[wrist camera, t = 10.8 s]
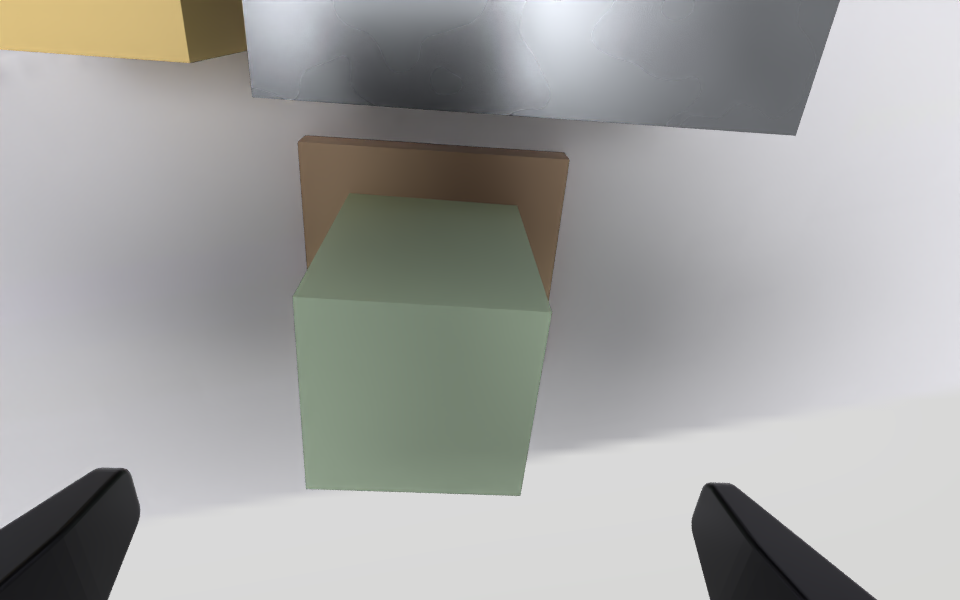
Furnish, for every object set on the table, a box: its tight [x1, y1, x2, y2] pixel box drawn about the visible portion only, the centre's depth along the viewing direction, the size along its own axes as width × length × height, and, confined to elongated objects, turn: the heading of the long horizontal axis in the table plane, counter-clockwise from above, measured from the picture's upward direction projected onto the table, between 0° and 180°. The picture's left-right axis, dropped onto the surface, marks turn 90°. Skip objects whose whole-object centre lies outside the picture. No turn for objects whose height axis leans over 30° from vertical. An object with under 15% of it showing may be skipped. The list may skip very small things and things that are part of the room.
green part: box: [293, 193, 552, 496], centre depth 13 cm, size 4×4×6 cm
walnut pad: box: [298, 135, 569, 301], centre depth 16 cm, size 7×7×1 cm
